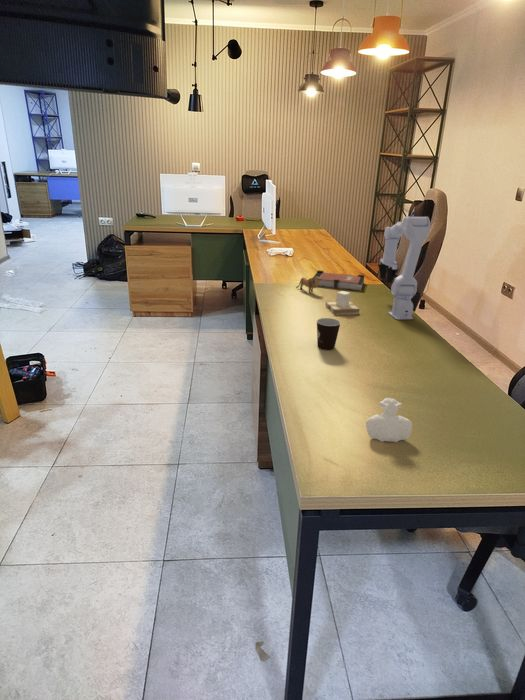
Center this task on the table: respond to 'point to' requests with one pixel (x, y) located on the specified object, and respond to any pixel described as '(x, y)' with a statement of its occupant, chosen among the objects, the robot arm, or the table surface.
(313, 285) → the lion figurine
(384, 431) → the bust
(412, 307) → the robot arm
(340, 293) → the white block
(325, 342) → the coffee mug
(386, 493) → the table surface
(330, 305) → the oak block
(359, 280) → the book
